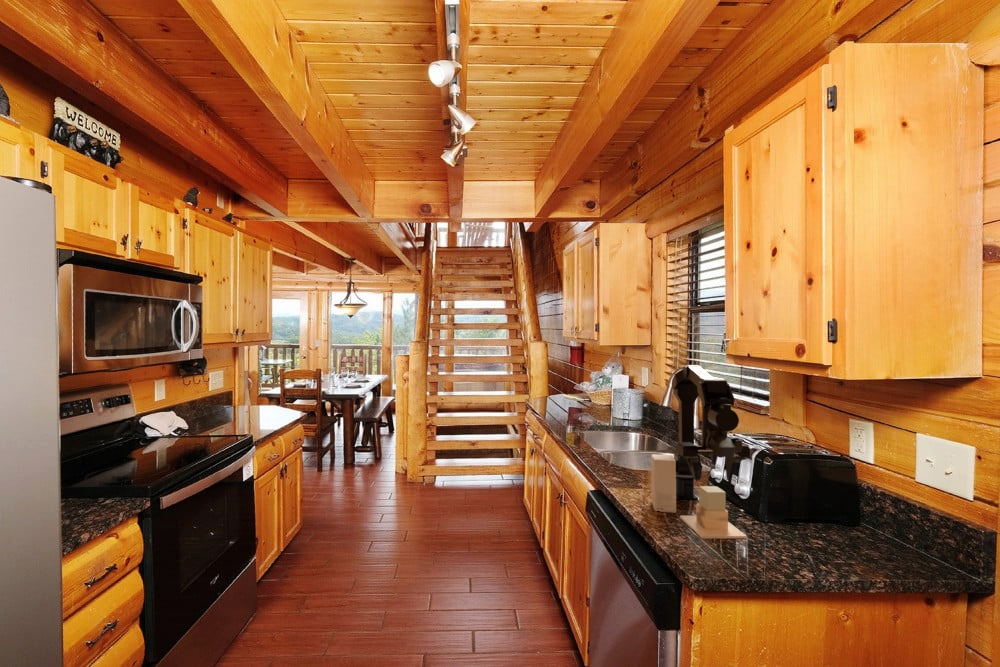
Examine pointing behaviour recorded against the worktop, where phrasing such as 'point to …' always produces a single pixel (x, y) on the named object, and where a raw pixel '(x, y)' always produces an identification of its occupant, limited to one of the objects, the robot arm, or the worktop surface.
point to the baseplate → (704, 533)
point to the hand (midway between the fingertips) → (712, 480)
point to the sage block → (712, 498)
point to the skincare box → (663, 483)
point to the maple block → (711, 518)
